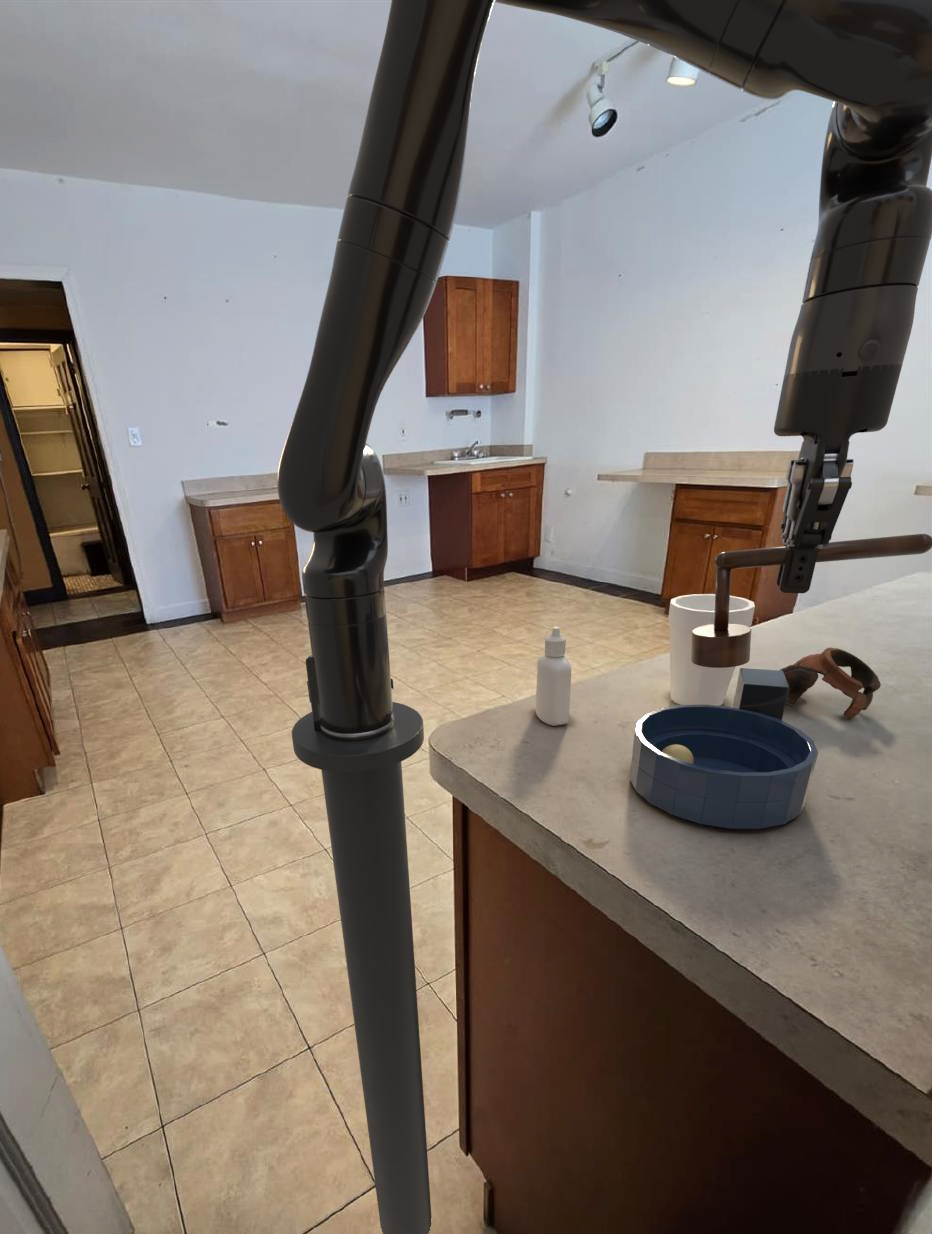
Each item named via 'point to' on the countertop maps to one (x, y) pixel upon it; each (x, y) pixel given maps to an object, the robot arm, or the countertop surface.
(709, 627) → the ladle
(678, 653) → the foam cup
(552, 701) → the eye dropper bottle
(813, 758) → the bowl
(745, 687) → the dark navy cube
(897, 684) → the countertop surface
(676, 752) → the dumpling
